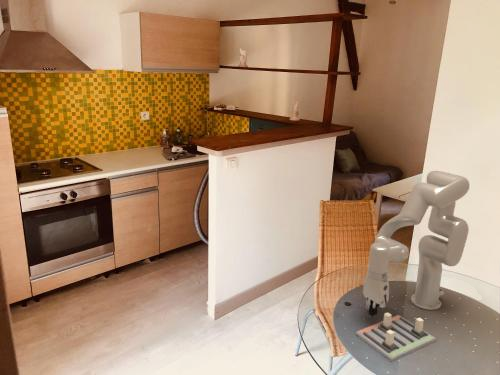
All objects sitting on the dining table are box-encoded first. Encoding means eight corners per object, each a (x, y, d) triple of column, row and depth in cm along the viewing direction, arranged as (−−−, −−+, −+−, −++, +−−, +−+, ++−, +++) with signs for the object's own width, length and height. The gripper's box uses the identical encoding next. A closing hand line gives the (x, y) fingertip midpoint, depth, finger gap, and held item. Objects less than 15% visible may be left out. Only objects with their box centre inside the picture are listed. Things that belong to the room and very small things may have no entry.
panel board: (398, 317, 171) (398, 313, 170) (435, 340, 155) (436, 336, 155) (355, 334, 159) (355, 330, 159) (391, 361, 144) (392, 356, 144)
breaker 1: (385, 325, 163) (386, 310, 161) (393, 330, 160) (394, 315, 158) (379, 327, 162) (381, 312, 160) (387, 332, 158) (389, 317, 157)
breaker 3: (416, 330, 160) (418, 315, 158) (424, 335, 156) (426, 321, 155) (411, 332, 158) (412, 318, 157) (419, 338, 155) (421, 323, 153)
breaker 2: (387, 342, 152) (389, 327, 151) (395, 348, 149) (397, 333, 147) (381, 345, 151) (383, 330, 149) (390, 351, 147) (391, 336, 146)
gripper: (398, 279, 157) (393, 321, 161) (370, 264, 169) (366, 303, 174) (385, 284, 153) (379, 326, 158) (356, 268, 166) (352, 308, 170)
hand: (372, 314), depth 166 cm, fingers closed
